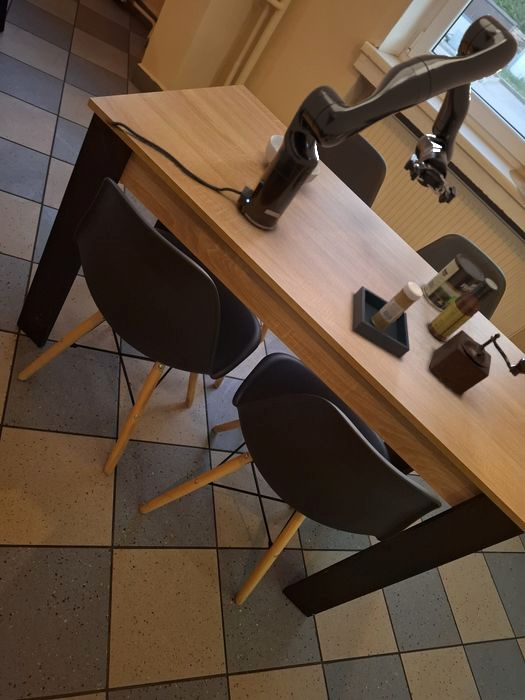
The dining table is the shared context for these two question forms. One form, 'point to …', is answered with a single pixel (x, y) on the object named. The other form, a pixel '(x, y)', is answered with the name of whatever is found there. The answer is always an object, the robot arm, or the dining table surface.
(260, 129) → the dining table surface
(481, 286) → the sauce bottle
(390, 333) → the tray
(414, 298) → the sprinkles bottle
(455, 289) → the coffee can
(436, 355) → the manual coffee grinder
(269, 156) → the cereal bowl
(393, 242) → the dining table surface
